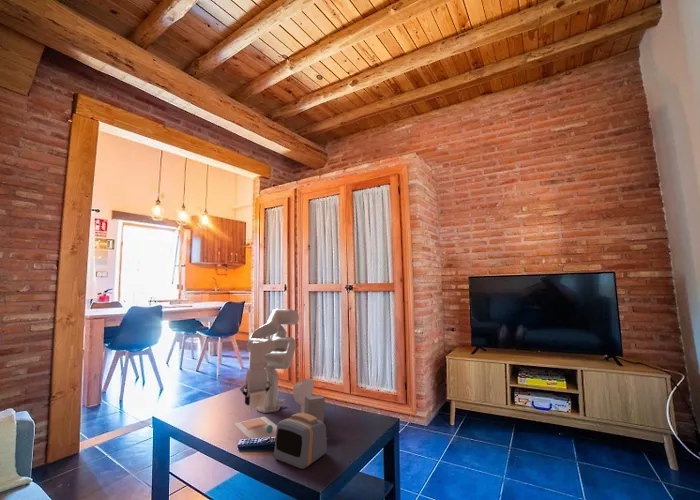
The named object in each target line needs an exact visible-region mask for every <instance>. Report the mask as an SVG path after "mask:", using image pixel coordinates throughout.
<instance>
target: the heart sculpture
mask: <svg viewBox="0 0 700 500" xmlns="http://www.w3.org/2000/svg"><path fill="white" fill-rule="evenodd" d="M314 387H315V380H314V379H311V378H303V379H302V380H299V381H297V382H296V383H295V384H294V385H293V390H292V396H293V399H294V401H295V402H296V403H298V404H299V405H300V413H304V408H305V396H311V395H313V392H314Z"/></svg>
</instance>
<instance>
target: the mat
mask: <svg viewBox="0 0 700 500" xmlns="http://www.w3.org/2000/svg"><path fill="white" fill-rule="evenodd" d="M269 425H271V426H272V427H273V430H272V431H271V432H267V430H266V428H267V426H269ZM234 426H235V427H237V429H238V430H240V431H241V432H242V433H243V434H244V435H245V436H246V438H248V439H249V440H250V438H259V437H273V436H276V431H277V424H276V423H274V422H273V421H271V420H270V419H269V418H268V417H266V416H261V417H257V418H251V419H247V420H244V421H240V422H235V423H234Z"/></svg>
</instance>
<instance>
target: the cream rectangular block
mask: <svg viewBox="0 0 700 500" xmlns="http://www.w3.org/2000/svg"><path fill="white" fill-rule="evenodd" d="M249 397H250V399H249V405H246V403H245V402H244V410H245V411H246V412H248V413H249V414H252V413H253V409H254V408H257V407H259V408H261V409H262V410H264V411H265V401H266V391H264V390H262V389H261V390H256V391H251V393H250V395H249Z"/></svg>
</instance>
